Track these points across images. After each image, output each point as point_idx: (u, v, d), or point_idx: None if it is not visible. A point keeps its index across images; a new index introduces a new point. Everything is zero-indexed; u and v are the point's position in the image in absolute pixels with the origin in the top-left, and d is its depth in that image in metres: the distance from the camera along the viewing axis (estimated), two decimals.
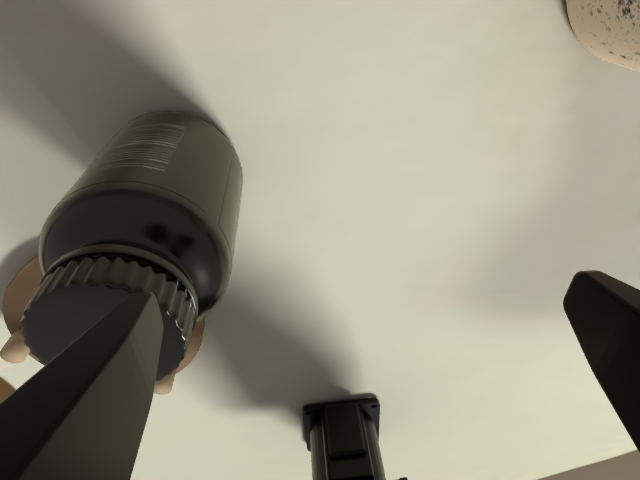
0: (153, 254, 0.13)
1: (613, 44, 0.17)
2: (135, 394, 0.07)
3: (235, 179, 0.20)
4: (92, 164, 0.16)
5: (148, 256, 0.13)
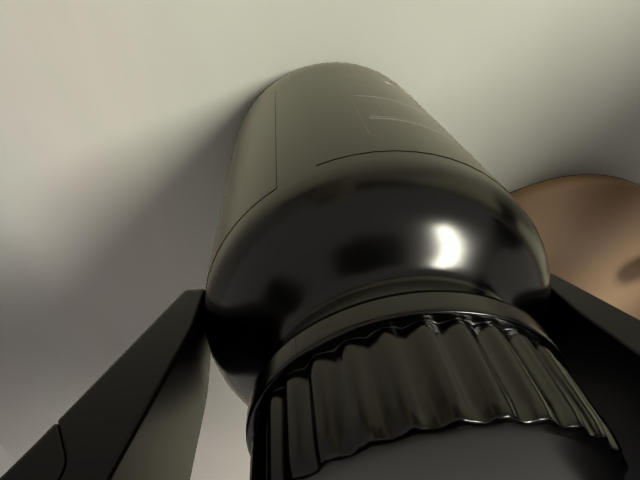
0: (278, 353, 0.06)
1: None
2: (195, 390, 0.07)
3: (321, 83, 0.11)
4: None
5: (272, 369, 0.05)
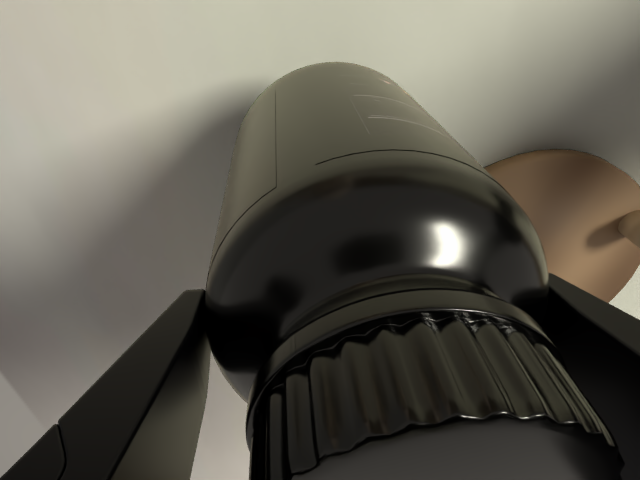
0: (277, 351, 0.06)
1: None
2: (195, 390, 0.07)
3: (321, 82, 0.11)
4: None
5: (271, 365, 0.06)
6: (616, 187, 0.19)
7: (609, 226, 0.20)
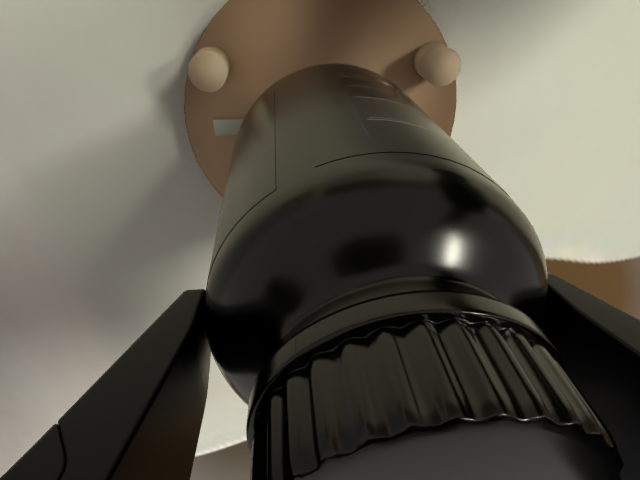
0: (278, 353, 0.06)
1: None
2: (195, 390, 0.07)
3: (320, 84, 0.11)
4: None
5: (273, 368, 0.06)
6: (395, 7, 0.16)
7: (403, 65, 0.17)
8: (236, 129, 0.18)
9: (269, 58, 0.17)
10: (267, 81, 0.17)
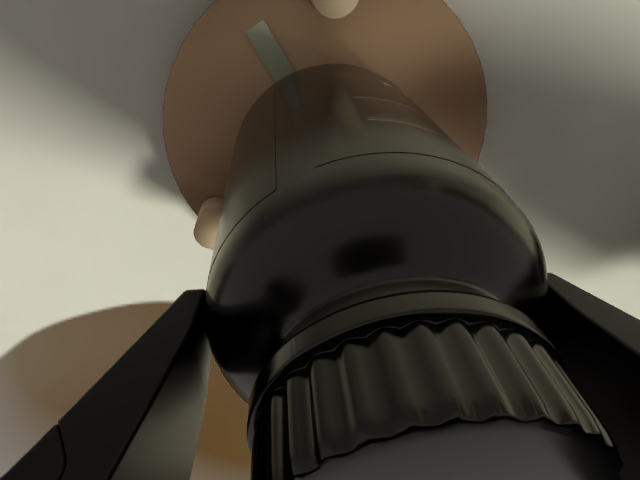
0: (278, 353, 0.06)
1: None
2: (195, 390, 0.07)
3: (320, 84, 0.11)
4: None
5: (272, 368, 0.06)
6: (465, 147, 0.16)
7: None
8: (268, 55, 0.14)
9: (367, 52, 0.14)
10: (342, 63, 0.14)
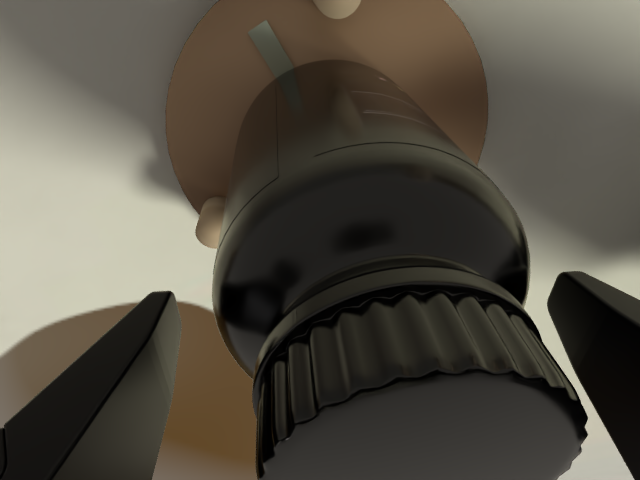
0: (280, 323, 0.06)
1: None
2: (157, 393, 0.07)
3: (319, 79, 0.11)
4: None
5: (276, 337, 0.06)
6: (466, 147, 0.16)
7: None
8: (270, 55, 0.14)
9: (369, 52, 0.14)
10: None
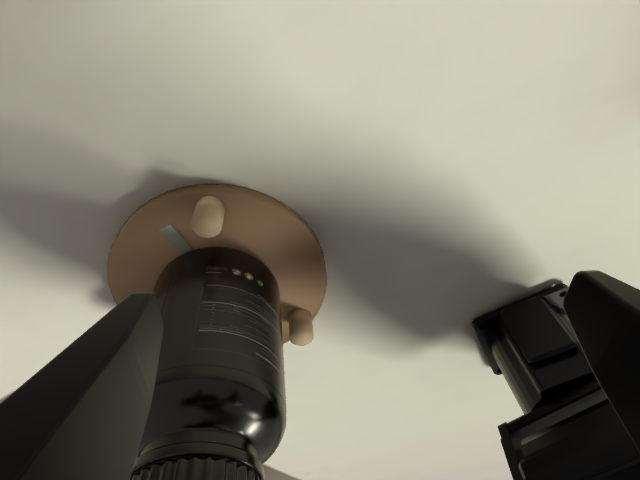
0: None
1: None
2: (135, 394, 0.07)
3: (193, 281, 0.19)
4: None
5: None
6: (314, 287, 0.24)
7: (287, 307, 0.25)
8: (174, 240, 0.22)
9: (239, 238, 0.22)
10: (224, 244, 0.22)
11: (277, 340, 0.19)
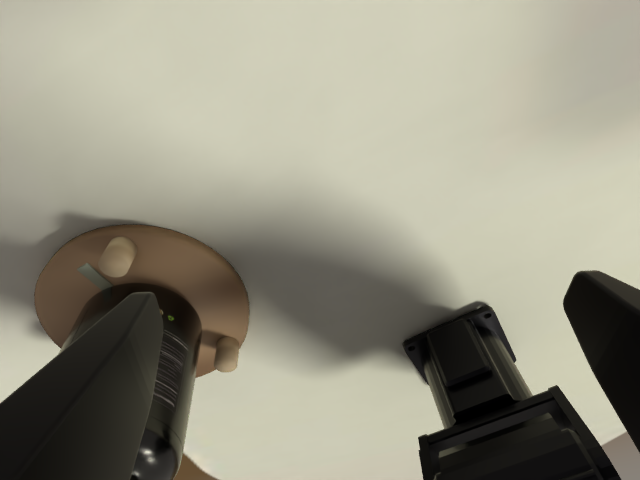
0: None
1: None
2: (135, 394, 0.07)
3: None
4: None
5: None
6: (237, 316, 0.25)
7: (214, 335, 0.26)
8: (94, 277, 0.23)
9: (156, 274, 0.23)
10: (142, 280, 0.23)
11: (180, 374, 0.20)
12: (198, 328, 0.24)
